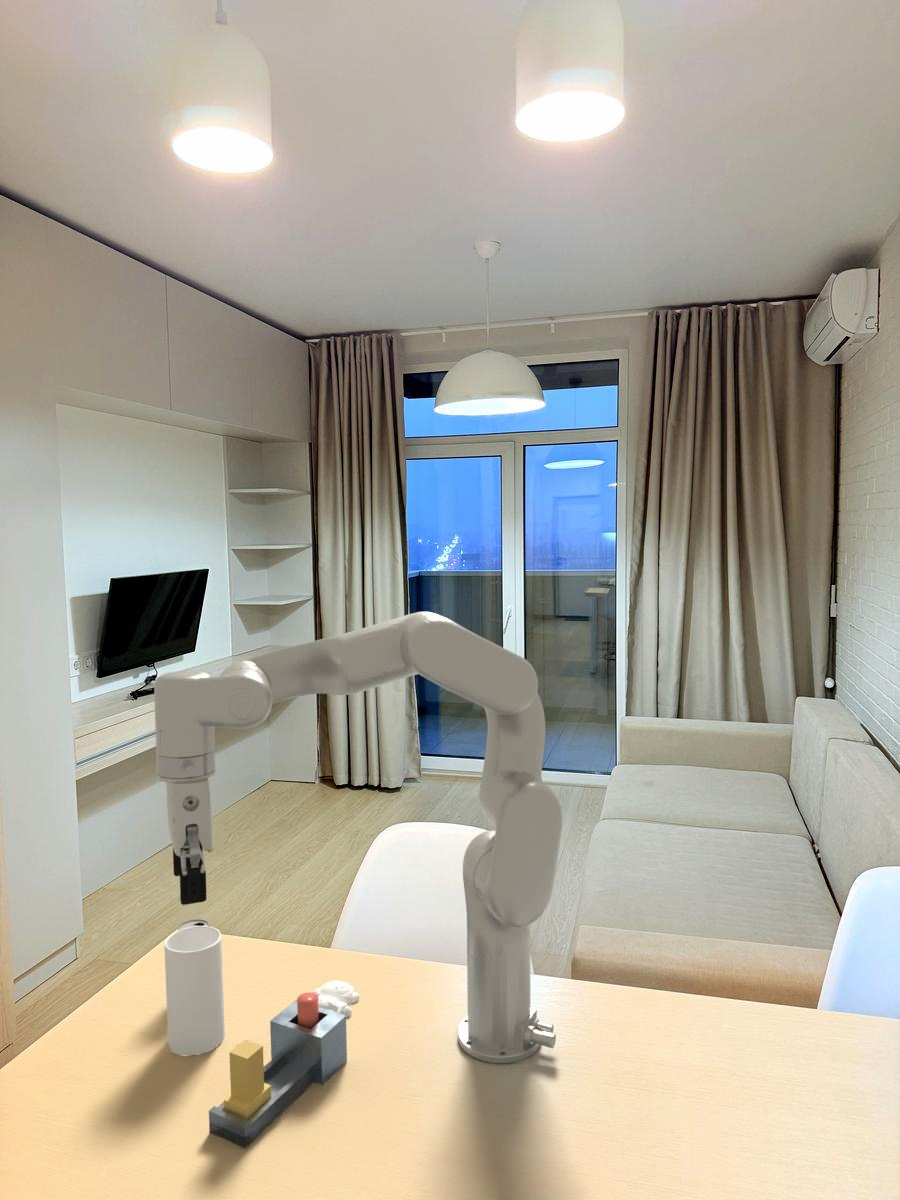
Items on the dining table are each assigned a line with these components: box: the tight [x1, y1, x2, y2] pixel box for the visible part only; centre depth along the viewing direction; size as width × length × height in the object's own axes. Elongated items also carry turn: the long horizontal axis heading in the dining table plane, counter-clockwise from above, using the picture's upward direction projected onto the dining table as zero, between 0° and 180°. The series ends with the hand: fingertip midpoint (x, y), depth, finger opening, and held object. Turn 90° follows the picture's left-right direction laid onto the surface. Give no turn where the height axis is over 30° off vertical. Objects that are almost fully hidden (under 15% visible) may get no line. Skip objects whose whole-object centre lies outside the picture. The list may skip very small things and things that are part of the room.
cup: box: [163, 925, 226, 1057], centre depth 126 cm, size 8×8×16 cm
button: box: [296, 992, 319, 1029], centre depth 120 cm, size 3×3×5 cm
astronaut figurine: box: [312, 980, 360, 1018], centre depth 135 cm, size 9×12×3 cm
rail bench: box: [208, 999, 348, 1150], centre depth 114 cm, size 9×20×7 cm, turn 152°
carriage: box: [223, 1039, 271, 1120], centre depth 109 cm, size 4×5×8 cm
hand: (189, 887), depth 113 cm, fingers open, 9 cm apart
